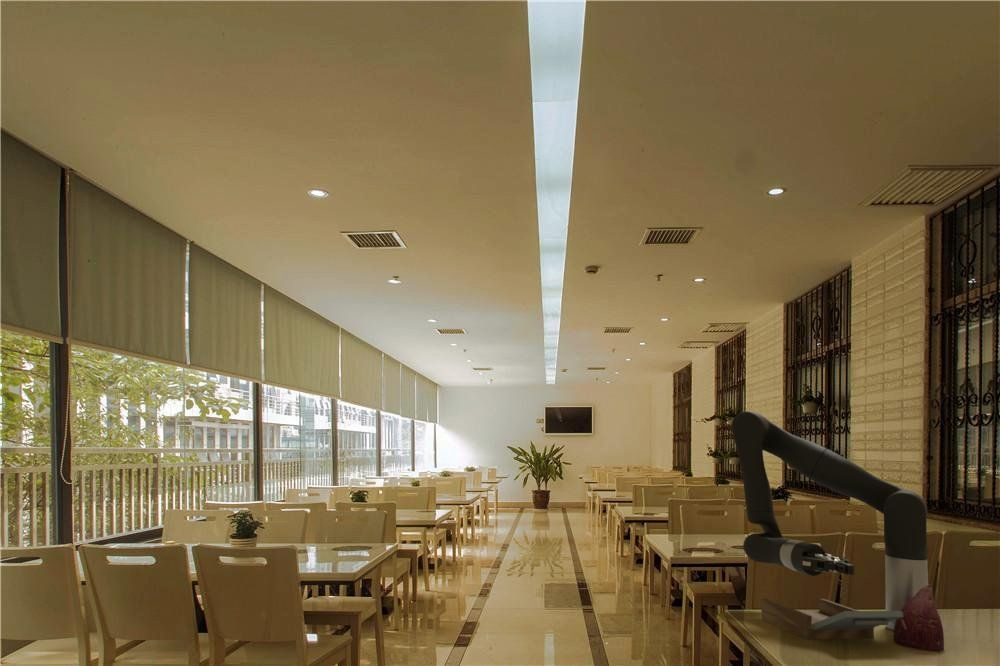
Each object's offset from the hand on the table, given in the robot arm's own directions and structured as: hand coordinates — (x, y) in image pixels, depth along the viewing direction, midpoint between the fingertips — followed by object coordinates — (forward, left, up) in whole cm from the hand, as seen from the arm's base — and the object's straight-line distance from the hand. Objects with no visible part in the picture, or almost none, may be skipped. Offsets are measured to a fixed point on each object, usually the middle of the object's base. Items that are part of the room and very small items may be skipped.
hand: (851, 570), depth 176 cm
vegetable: (-16, +2, -16) cm, 23 cm away
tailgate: (0, -3, -14) cm, 14 cm away
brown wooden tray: (0, -12, -16) cm, 20 cm away
